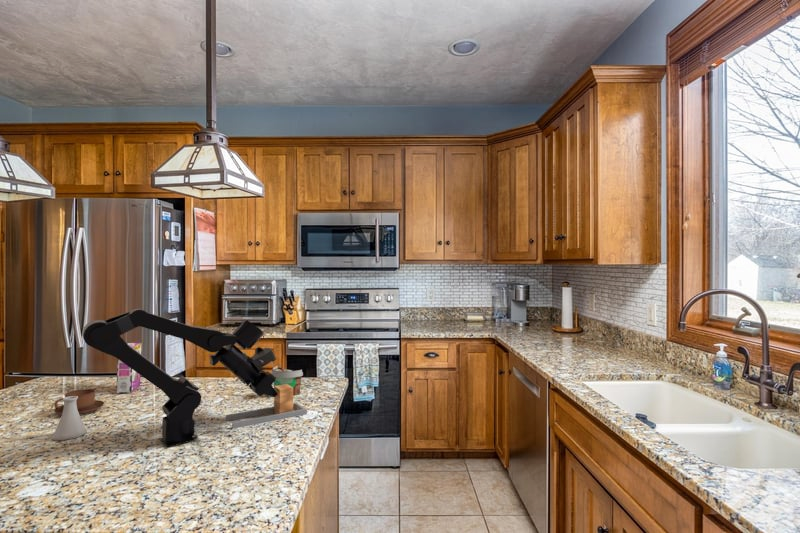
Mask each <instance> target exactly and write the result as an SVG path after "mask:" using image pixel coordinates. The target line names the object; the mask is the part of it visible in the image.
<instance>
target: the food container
mask: <svg viewBox="0 0 800 533" xmlns="http://www.w3.org/2000/svg"><path fill="white" fill-rule="evenodd" d="M270 373H271V374H272V375H273V376H275V377H276V380H275V381H274V382H273V387H274V386H278V385H284V384H288V385H290V386H291V387H293V397H294V396H298V395H300V394H301V387H302V386H301V385H302V376H304V372H303V369H298V370H293V369H289V368H287V369H284V368H282V369H281V368H279V367H278V365H276V366H273V368H272V369H271V372H270Z"/></svg>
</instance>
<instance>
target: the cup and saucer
mask: <svg viewBox="0 0 800 533" xmlns="http://www.w3.org/2000/svg"><path fill="white" fill-rule="evenodd" d="M69 396H78V398H77V400H76V404H77V409H78V412H79V415H80V416H83V415H86V414H90V413H94V412H95V411H97V410H100V409H101V408H102V407H103V406H104V405H105V402H104V401H103V400H98V399H97V400H96V389H94V388H83V389H82V388H81V389H75V390H71V391H67V392H66V393H65V394H64V397H61V398H58V399H57V400H56V401H55V402H54V404H53V405H54V413H56V414H57V415H60V416H62V413H63V408H64V404H62V405H58V403H59V402H61V401H62V402H63V398H65V397H69Z"/></svg>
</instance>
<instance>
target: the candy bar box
mask: <svg viewBox="0 0 800 533" xmlns="http://www.w3.org/2000/svg"><path fill="white" fill-rule="evenodd" d="M126 343H127V342H126ZM127 344H128V345H129V346H131V347H132V348H133V349H135V350H136V351H137V352H139V353H140V354H141V355H142V348H143V345H142V344H143V342H130V343H129V342H128V343H127ZM116 366H117V367H116V368H117V369H116V390H115V394H117V395H119V394H123V395H124V394H132V393H133V392H134V391H135V390H136V389H138V388H139V387H140V386H141V375H140V374H138V373H137V372H136V371H134V370H133V369H131V368H130V367H129V366H127V365H126V364H124V363H123V362H122V361H120V360H119V359H117V365H116Z"/></svg>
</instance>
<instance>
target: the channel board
mask: <svg viewBox="0 0 800 533" xmlns="http://www.w3.org/2000/svg"><path fill="white" fill-rule="evenodd" d="M294 409H296V410H294ZM307 409H308V408H306V407H304V406H303V405H301V404H300V403H298V402H293V411H291V412H286V413H280V414H275V413H274V406H270V407H269V406H268V407H264V408H258V409H253V410H246V411H243V412H242V411H241V412H235V413H230V414H226V415H225V422H229V421H234V420H237V421H234V422H232V423H231V424H232V425H231V429H232V430H235V429H239V428H244V427H249V426H253V425H254V426H255V425H259V424H265V423H269V422H275V421H279V420H280V421H281V420H284V419H285V420H286V419H289V418H295V417H299V416H300V417H301V416H306V415H308V410H307ZM271 413H274V414H271ZM265 414H270V415H265ZM260 415H265V416H260ZM255 416H256V417H255ZM257 416H258V417H257ZM259 416H260V417H259ZM250 417H255V418H250ZM244 418H245V419H244ZM246 418H250V419H246ZM238 419H239V421H238ZM240 419H243V420H240Z"/></svg>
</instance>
